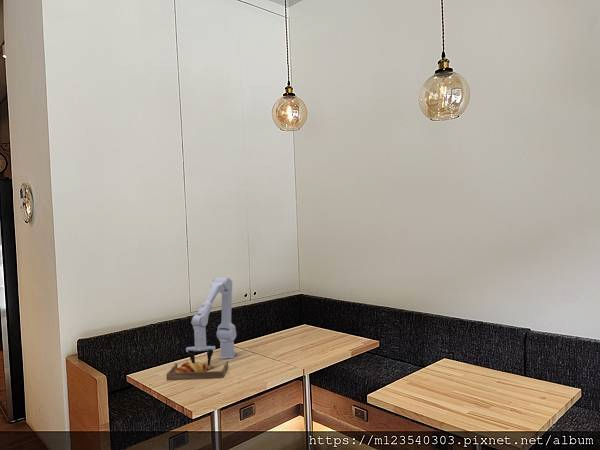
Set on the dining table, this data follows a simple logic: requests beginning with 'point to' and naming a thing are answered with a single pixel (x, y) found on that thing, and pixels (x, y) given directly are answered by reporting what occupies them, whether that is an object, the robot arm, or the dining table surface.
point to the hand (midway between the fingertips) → (201, 365)
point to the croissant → (193, 367)
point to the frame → (195, 374)
